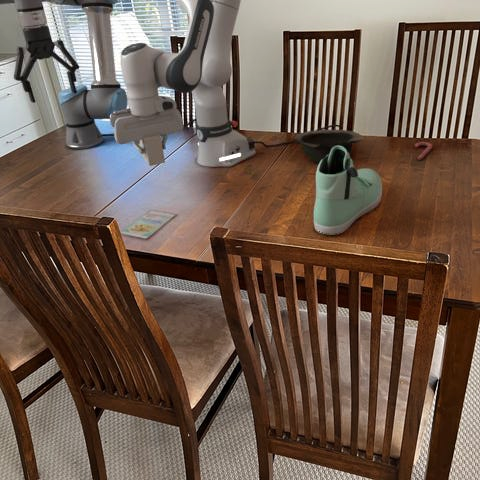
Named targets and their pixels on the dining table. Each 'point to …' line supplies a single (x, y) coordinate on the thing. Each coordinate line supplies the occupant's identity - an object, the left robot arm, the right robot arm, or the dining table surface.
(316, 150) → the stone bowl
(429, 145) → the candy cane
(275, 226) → the dining table surface
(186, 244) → the dining table surface
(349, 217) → the sneaker
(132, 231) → the baking ingredient package
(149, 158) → the bar
